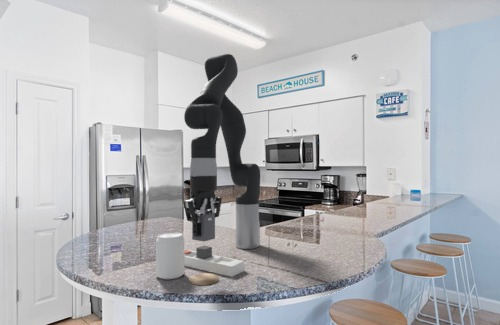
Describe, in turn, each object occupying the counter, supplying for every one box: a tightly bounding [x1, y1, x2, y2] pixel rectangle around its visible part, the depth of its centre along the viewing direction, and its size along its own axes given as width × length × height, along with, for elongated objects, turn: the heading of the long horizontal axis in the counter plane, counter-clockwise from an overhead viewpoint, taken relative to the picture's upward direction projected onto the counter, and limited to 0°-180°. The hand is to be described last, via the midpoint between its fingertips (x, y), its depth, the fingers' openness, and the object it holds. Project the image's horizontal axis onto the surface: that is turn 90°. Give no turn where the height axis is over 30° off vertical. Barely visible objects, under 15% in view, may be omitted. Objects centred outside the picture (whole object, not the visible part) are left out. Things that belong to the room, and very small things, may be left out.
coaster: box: [189, 272, 219, 286], centre depth 90 cm, size 8×8×1 cm
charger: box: [191, 213, 216, 242], centre depth 90 cm, size 4×5×7 cm
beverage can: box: [155, 232, 185, 280], centre depth 93 cm, size 8×8×12 cm
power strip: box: [184, 245, 245, 278], centre depth 102 cm, size 6×26×6 cm, turn 56°
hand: (203, 234), depth 90 cm, fingers closed on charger, 4 cm apart
